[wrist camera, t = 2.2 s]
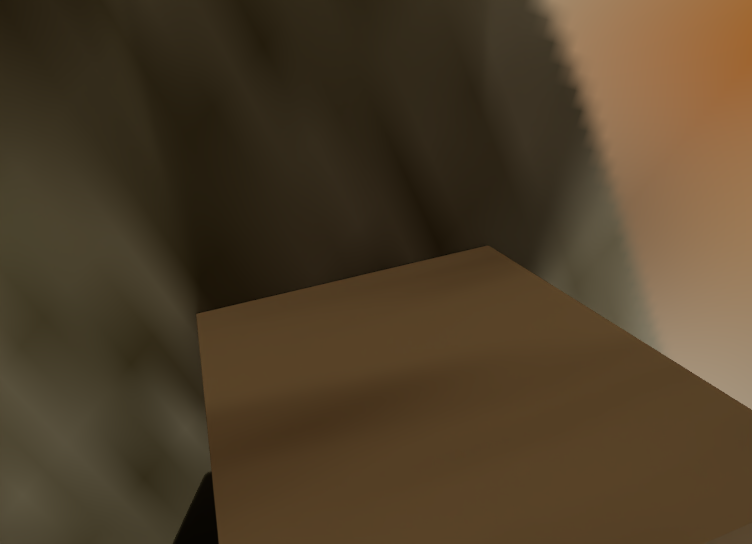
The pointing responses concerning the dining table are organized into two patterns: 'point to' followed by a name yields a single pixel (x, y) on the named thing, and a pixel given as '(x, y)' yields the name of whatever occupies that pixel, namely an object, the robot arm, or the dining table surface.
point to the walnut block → (461, 418)
